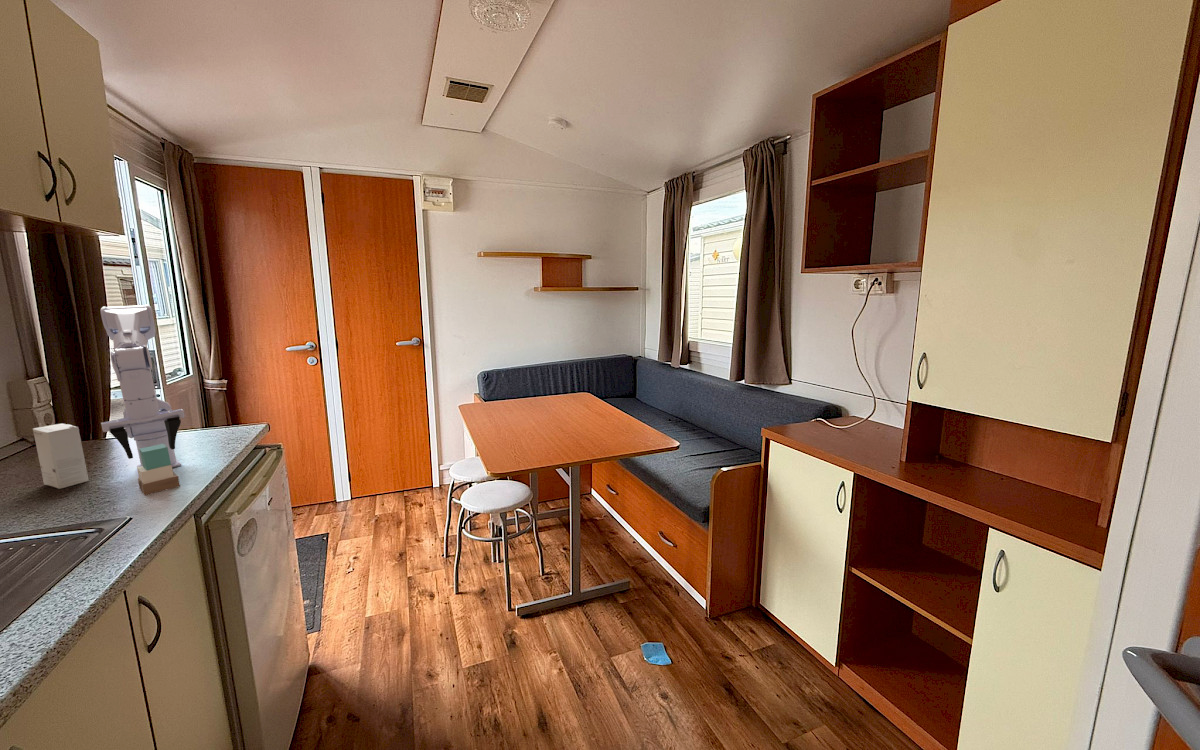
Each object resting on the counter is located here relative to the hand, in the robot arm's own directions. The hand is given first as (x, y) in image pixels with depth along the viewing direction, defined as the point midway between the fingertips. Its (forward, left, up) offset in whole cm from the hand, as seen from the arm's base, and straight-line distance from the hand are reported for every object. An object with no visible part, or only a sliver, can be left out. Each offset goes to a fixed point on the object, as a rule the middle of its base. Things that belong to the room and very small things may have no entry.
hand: (152, 452), depth 119 cm
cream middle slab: (0, 0, -6) cm, 6 cm away
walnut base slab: (0, 0, -9) cm, 9 cm away
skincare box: (-25, -14, -9) cm, 30 cm away
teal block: (0, 0, -3) cm, 3 cm away
